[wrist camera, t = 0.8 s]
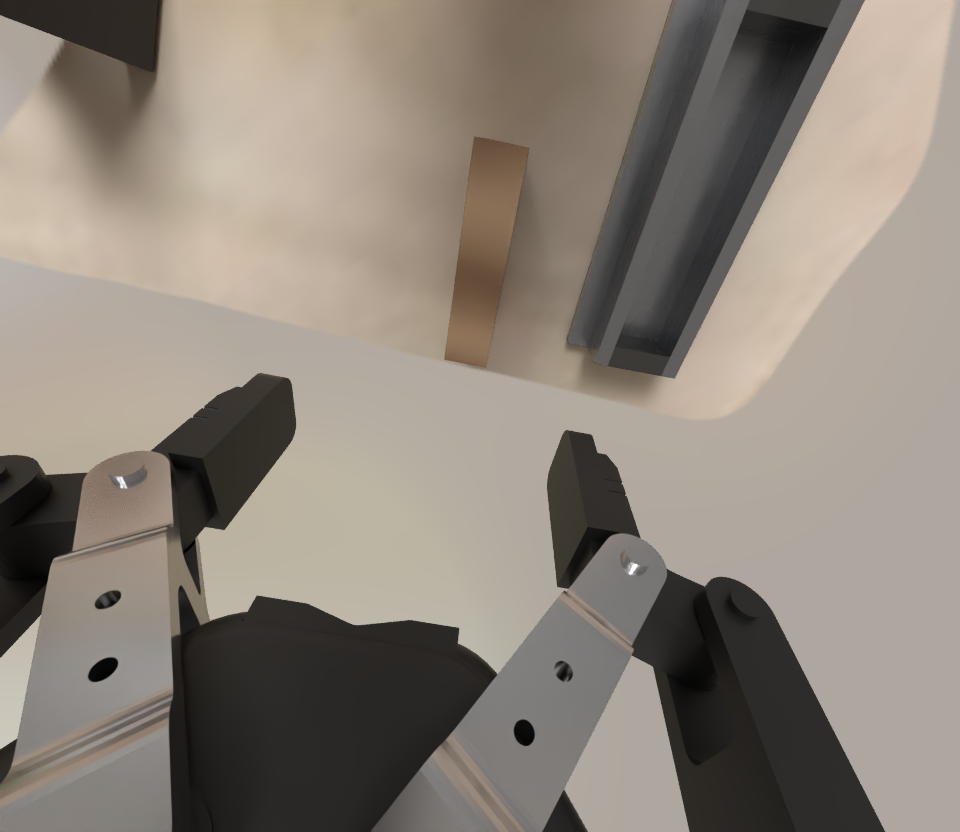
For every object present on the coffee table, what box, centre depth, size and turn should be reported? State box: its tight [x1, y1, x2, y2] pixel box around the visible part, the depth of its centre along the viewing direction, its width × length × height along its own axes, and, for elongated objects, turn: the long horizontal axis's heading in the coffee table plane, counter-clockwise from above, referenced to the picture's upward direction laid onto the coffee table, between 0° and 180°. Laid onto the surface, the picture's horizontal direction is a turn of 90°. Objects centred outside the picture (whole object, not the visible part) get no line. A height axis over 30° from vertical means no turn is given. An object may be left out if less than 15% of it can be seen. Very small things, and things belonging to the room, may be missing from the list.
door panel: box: [444, 136, 529, 367], centre depth 24 cm, size 11×2×9 cm, turn 170°
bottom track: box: [567, 0, 865, 378], centre depth 24 cm, size 20×9×4 cm, turn 170°
